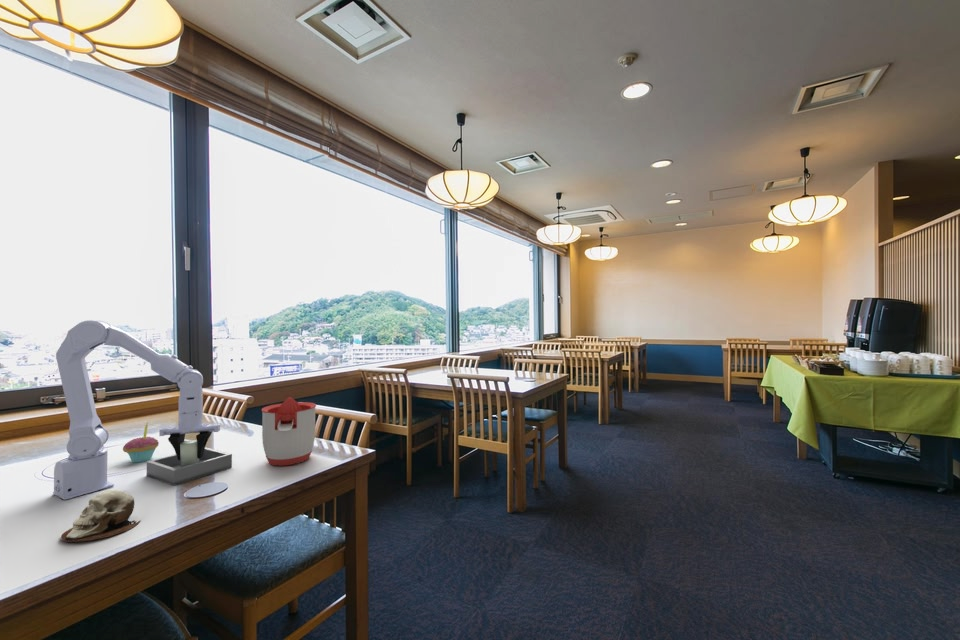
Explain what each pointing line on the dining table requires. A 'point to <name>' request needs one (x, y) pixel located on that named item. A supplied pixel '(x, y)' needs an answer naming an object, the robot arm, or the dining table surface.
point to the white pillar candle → (188, 453)
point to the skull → (103, 517)
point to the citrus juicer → (288, 431)
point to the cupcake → (141, 447)
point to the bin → (188, 467)
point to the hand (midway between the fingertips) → (190, 458)
